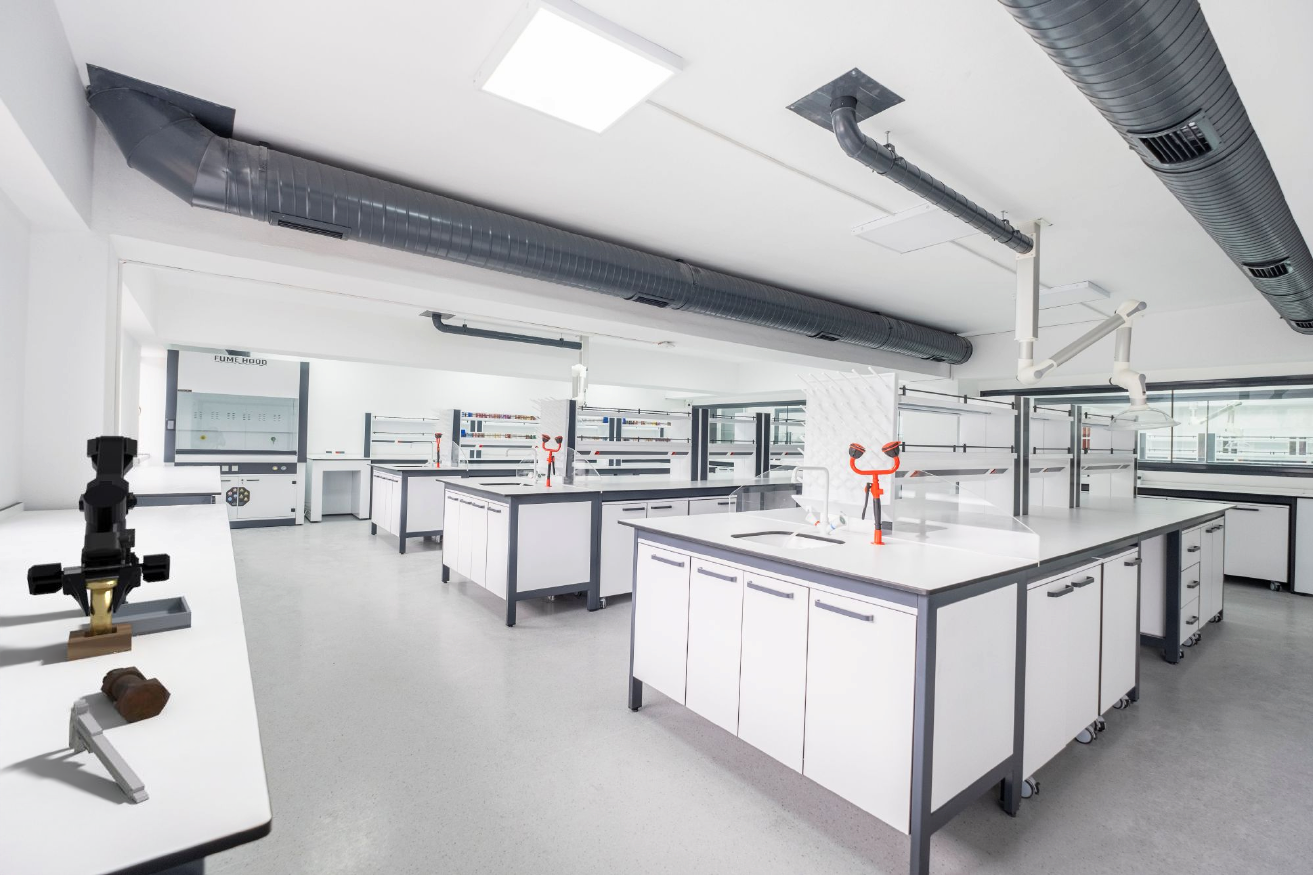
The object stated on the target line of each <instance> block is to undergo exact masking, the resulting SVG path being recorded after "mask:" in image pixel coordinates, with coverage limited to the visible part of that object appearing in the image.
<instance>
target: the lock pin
mask: <svg viewBox="0 0 1313 875" xmlns="http://www.w3.org/2000/svg"><path fill="white" fill-rule="evenodd" d="M115 586H117V579H113V578H110V579H98V580H93V581H89V582H87V583H86V589H87V591H90V590H91V605H90V604H89V606H90V615H89V617H90V620H89V628H90V637H93V636H100V635H106V634H112V592H113V587H115Z"/></svg>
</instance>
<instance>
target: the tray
mask: <svg viewBox="0 0 1313 875" xmlns="http://www.w3.org/2000/svg"><path fill="white" fill-rule="evenodd" d="M129 622H131V631H132V636H133V637H138V636H137V635H139V636H143V635H144V636H145V635H151V633H152V634H156V633H162V632H170V631H176V630H182V629H187V628H188V629H189V628H192V611H191V608H190V606H189V604H188V602H187V599H186V598H185V596H184V595H183V596H182V595H181V596H176V597H175V596H174V597H168V598H167V597H166V598H162V599H161V598H159V599H153V600H145V601H137V602H131V603H130V602H128V604H121V605H120V607H119V609H118V610H117V612H116V613H113V606H112V625H116V624H122V623H129Z"/></svg>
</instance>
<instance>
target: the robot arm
mask: <svg viewBox="0 0 1313 875" xmlns="http://www.w3.org/2000/svg"><path fill="white" fill-rule="evenodd" d="M138 444H139V442H138V439H132V437H127V436H123V435H100V436H96V437H95V438H89V439H87V440H86V457H87V458H90V459H91V467H92V468H93V470H94V471H95V472H96V474H95V478H94V479H92V480H90V481H89V482H87V483H86V488H85V492H84V493H81V494H80V497H79V499H78V510H79V512H80V513H84V514H83V516H84V520H85V532H84V538H83V540H84V541H83V547H82V548H81V555H80V556H81V557H80V565H77V566H76V565H74V566H66V567H62V566H63V565H62V562H54V563H42V564H41V563H40V564H33V565H32V566H31V567H29V568H28V570H27V575H26V579H27V586H28V593H29V595H31V596H40V595H43V596H44V595H50V594H57V593H58V592H60V591H61V590H62V595H64V596H71V597H72V598H73V599H74V600H75V601H76V602H77V603H78V606H79V607H80V609H81V611H82V613H83V615H84V616H85V618H87V617H88V618H89V617H90V605H91V590H89V591H90V592H89V593H88V589H86V583H87V582H89V581H93V580H98V579H110V578H113V579H117V586H115V587H113V592H112V606H113V613H116V612H117V610H118V609H119V607H120V605H121V604H129V600H128V601H127V596H128V595H129V594H130V593H131V592H132V590H133V589H135V588H140V587H141V586H142V585H141V584H142V581H144V582H146V583H148V584H151V583H158V582H165V581H168V580H169V579H170V574H171V573H170V570H171V569H170V568H171V555H169V554H168V553H155V554H143V555H142V562H141V563H140V557H138V556H137V554H136V552H135V551H132V549H133V548H135V547H136V528H127V519H126V517H127V516H128V515H129V511H130V510H134V508H135V507H136V505H137V506H138V497H137V496H136V495H135V494H134V491H131V492H130V482H129V480H126V479H125V476H126V475H127V474H128V472H130V471H131V470H132V468H133V467H134V458H138V449H139V448H138ZM88 594H90V595H88Z"/></svg>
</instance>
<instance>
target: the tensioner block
mask: <svg viewBox="0 0 1313 875" xmlns="http://www.w3.org/2000/svg"><path fill="white" fill-rule="evenodd" d="M132 642H133V638H132V631H131V622H129V623H122V624H116V625H112V634H106V635H100V636H93V637H90V627H89V628H84V629H77V630H70V631H69V634H68V641H67V653H66V654H67V657H66V658H67V662H71V661H78V660H84V659H88V658H93V657H99V656H106V654H107V655H112V654H111V653H113V654H115V653H114V652H118V653H122V652H121V651H124V652H126V651H125V650H130V649H131V650H132V647H133V646H132V645H133V644H132ZM131 650H130V651H131Z"/></svg>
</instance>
